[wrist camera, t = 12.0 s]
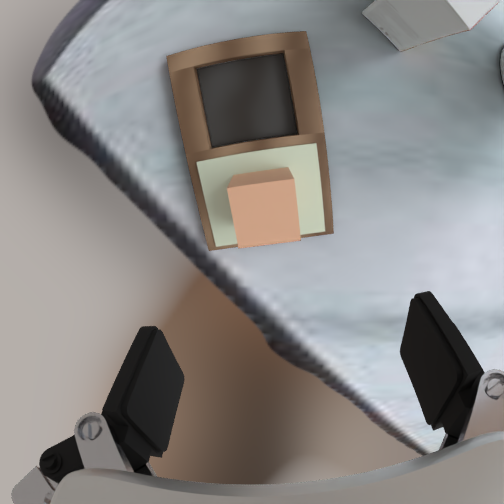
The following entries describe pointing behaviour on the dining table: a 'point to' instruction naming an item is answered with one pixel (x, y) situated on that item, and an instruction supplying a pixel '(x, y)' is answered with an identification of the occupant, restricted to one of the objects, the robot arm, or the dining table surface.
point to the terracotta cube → (264, 207)
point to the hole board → (252, 126)
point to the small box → (425, 19)
